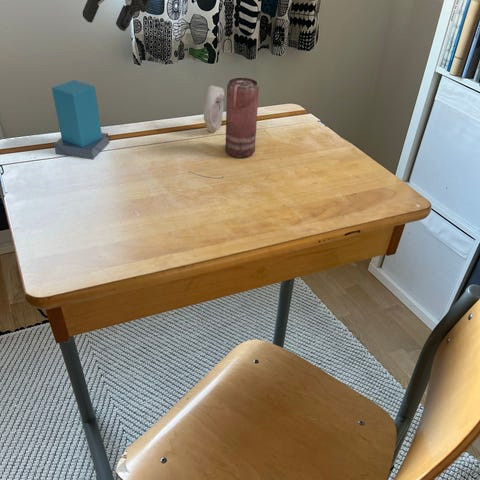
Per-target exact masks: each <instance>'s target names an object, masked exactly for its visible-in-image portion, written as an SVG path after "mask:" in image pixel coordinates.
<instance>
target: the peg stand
mask: <svg viewBox="0 0 480 480" xmlns="http://www.w3.org/2000/svg"><path fill="white" fill-rule="evenodd" d="M101 133H102V138H100V139H98V140H96V141H94V142H91V143H89V144H87V145H85V146H83V147H81V146H78V145H75V144H73V143H70V142H67V141H65V140H62V137H61V138H59V139H58V140H56V142H55V143H53V146H54V151H55V154H56V155H62V156H69V157H75V158H82V159H88V160H89V159H90V160H95V158H96V157H97V156H98V155H99V154H100V153H101V152H102V151H103V150H104V149H105V148H106V147H107V146H108V145H109V144H110V137H109V133H107V132H101Z"/></svg>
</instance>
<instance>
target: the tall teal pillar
mask: <svg viewBox="0 0 480 480" xmlns="http://www.w3.org/2000/svg"><path fill="white" fill-rule="evenodd" d="M51 93H52V97H53V102H54V106H55V112H56V118H57V122H58V127H59V133H60V137H61V138H62V140H65V141H67V142H70V143H73V144H75V145H78V146H81V147H83V146H85V145H87V144H89V143H91V142H94V141H96V140H98V139H100V138H102V133H103V132H102V126H101V120H100V113H99V107H98V105H99V104H98V100H97V99H98V98H97V93H96V86H95V85H91V84H88V83H84V82H82V81H78V80H75V79H73V80H69V81H67V82H64V83H61V84H58V85H55V86H52V87H51Z"/></svg>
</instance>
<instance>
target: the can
mask: <svg viewBox="0 0 480 480" xmlns="http://www.w3.org/2000/svg"><path fill="white" fill-rule="evenodd" d="M259 91H260V87H259V84H258V81H257V80H256V79H253V78H249V77H233V78H231V79H229V80H228V83H227V85H226V104H225V105H226V106H225V107H226V109H225V113H226V114H225V146H224V148H225V152H226V154H227V156H229V157H232V158H234V159H247V158H250V157H252V156H253V154H255V151H256V139H257V138H256V137H257V124H258V123H257V122H258V121H257V120H258V107H259V94H260V93H259Z"/></svg>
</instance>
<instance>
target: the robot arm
mask: <svg viewBox="0 0 480 480" xmlns="http://www.w3.org/2000/svg"><path fill="white" fill-rule="evenodd" d="M104 1H105V0H86V3H85V5H84V8H83V10H82V17H83V18H84V20H85V21H86V22H88V23H91V24H92V23H93V22H94V19H95V17H96V14H97V13H98V10H99V8H100V5H101V4H102V3H103V2H104ZM150 2H151V0H124V3H125V4H123V5H122V7H121V9H120V12H119V14H118V17H117V19H116V21H115V25H116V26H117V28H118V29H119V31H122V32H125V31H126V30H127V29H128V28H129V26H130V24H131V22H132V19H133V17H134V16H135V15H136V14H137V13H138V12H141V13H146V11H147V10H148V7H149V5H150Z"/></svg>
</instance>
